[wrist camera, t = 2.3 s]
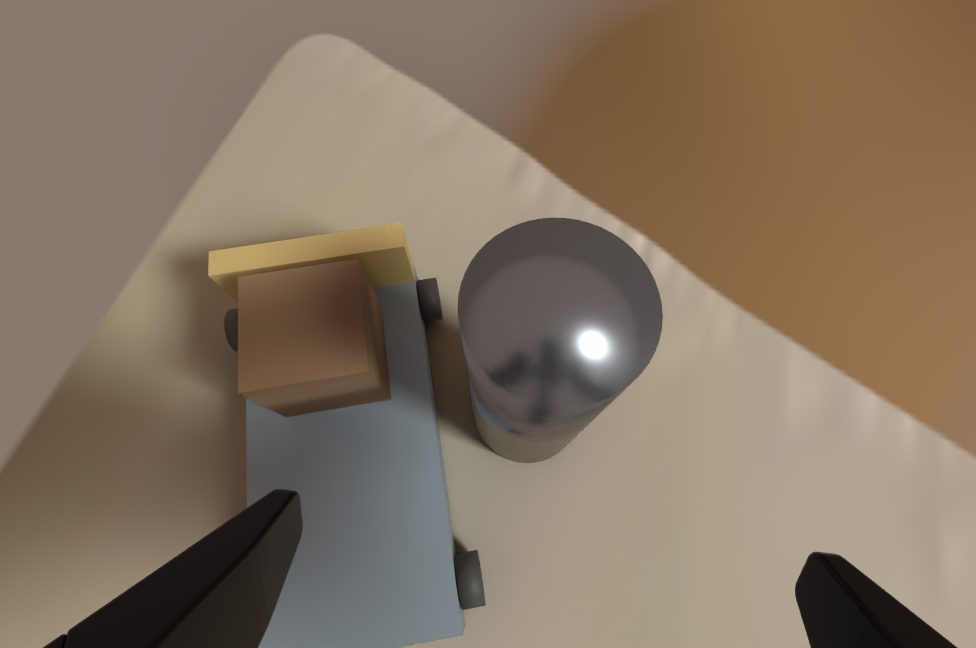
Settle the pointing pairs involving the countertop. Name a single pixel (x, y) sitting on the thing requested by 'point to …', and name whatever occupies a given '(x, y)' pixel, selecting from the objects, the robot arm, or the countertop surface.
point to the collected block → (311, 339)
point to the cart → (361, 471)
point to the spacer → (553, 332)
